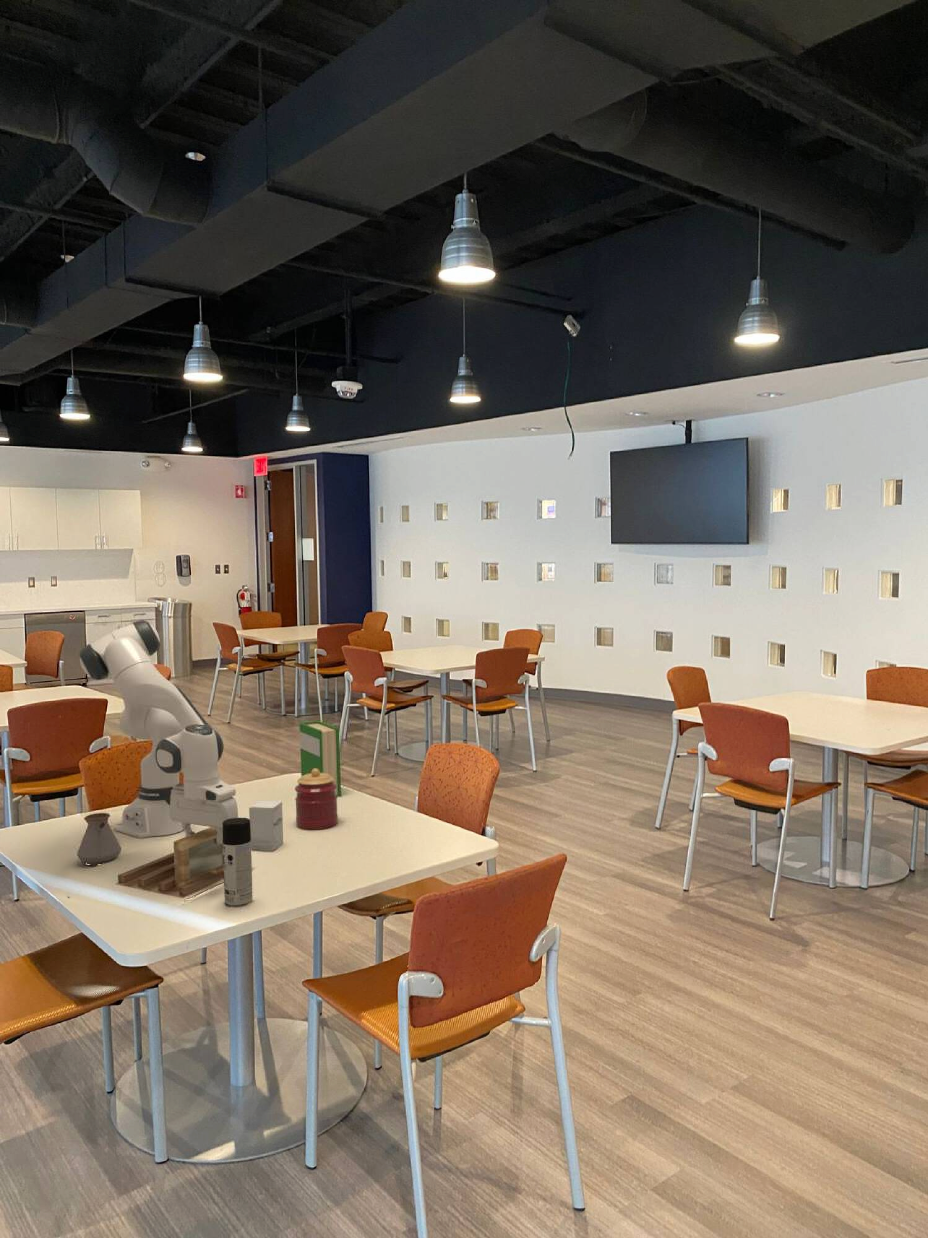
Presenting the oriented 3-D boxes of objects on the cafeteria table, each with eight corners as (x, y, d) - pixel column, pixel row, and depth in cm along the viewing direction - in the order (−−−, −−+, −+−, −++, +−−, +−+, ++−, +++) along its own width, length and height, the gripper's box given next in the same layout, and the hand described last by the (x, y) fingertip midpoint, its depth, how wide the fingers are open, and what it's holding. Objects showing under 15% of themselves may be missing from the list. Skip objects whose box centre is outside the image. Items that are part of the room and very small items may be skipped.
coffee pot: (75, 859, 256) (73, 806, 255) (119, 852, 262) (116, 800, 260) (82, 882, 237) (79, 826, 236) (128, 874, 243) (126, 819, 242)
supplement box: (274, 851, 259) (272, 808, 258) (249, 850, 261) (248, 807, 260) (284, 843, 266) (282, 801, 266) (260, 842, 268) (258, 800, 267)
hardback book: (341, 796, 317) (339, 728, 315) (321, 800, 313) (319, 730, 311) (321, 786, 332) (318, 721, 330) (301, 789, 328) (299, 723, 326)
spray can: (227, 897, 225) (224, 817, 224) (255, 895, 226) (252, 816, 224) (222, 907, 218) (219, 825, 217) (251, 906, 219) (248, 824, 218)
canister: (330, 831, 277) (329, 774, 276) (290, 830, 279) (288, 773, 278) (343, 818, 290) (341, 764, 289) (304, 817, 292) (302, 763, 291)
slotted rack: (115, 887, 233) (114, 874, 233) (184, 859, 254) (183, 846, 254) (182, 902, 222) (182, 887, 222) (248, 870, 244) (247, 857, 243)
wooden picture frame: (175, 888, 229) (173, 841, 228) (220, 868, 243) (218, 824, 242) (184, 890, 227) (182, 843, 226) (228, 870, 241) (226, 825, 241)
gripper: (162, 787, 236) (165, 840, 237) (223, 795, 226) (226, 850, 228) (180, 781, 241) (182, 832, 242) (240, 789, 232) (243, 842, 233)
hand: (204, 841), depth 235 cm, fingers open, 8 cm apart
